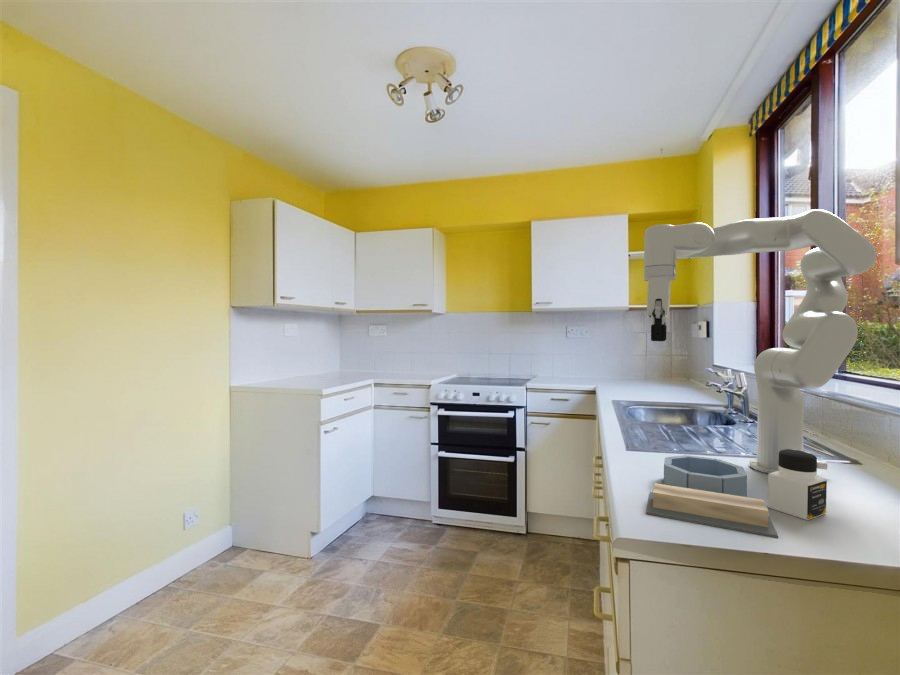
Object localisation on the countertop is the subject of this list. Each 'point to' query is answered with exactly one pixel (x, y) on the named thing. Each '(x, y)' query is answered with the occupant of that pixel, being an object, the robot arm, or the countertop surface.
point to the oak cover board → (711, 504)
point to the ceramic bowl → (705, 475)
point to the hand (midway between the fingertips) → (658, 340)
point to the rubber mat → (711, 520)
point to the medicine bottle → (797, 485)
